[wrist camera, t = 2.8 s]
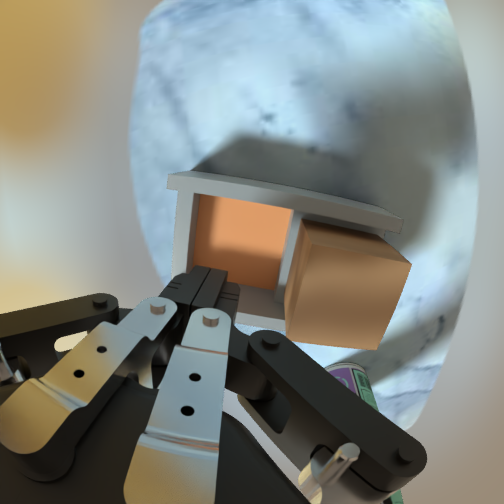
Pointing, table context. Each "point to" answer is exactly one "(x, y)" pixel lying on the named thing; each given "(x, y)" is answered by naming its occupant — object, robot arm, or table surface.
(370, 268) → the walnut block
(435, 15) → the table surface
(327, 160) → the table surface
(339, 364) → the spray can
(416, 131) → the table surface
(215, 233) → the channel
